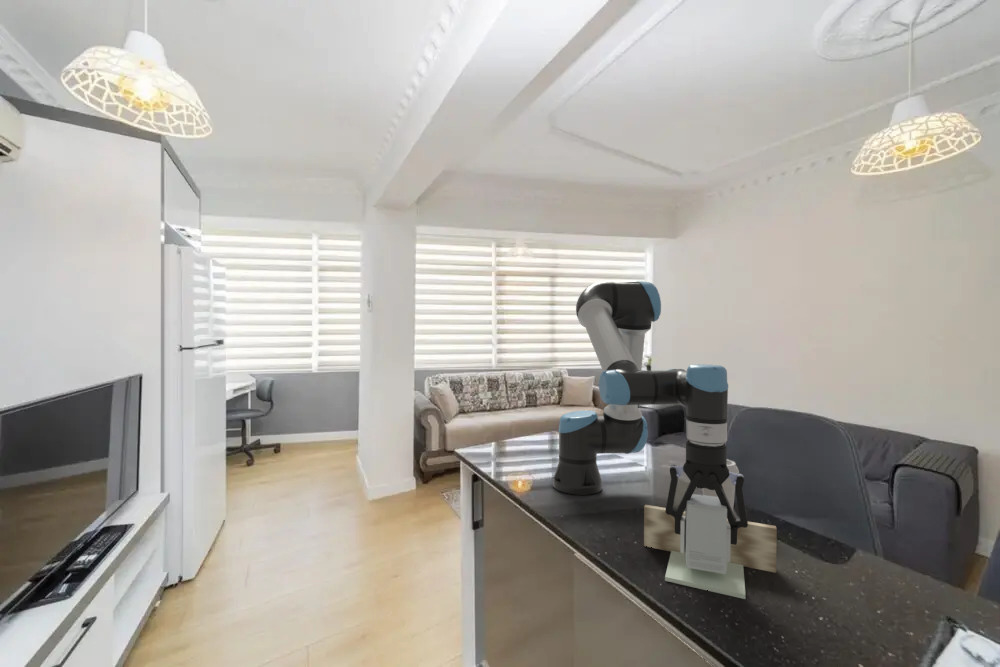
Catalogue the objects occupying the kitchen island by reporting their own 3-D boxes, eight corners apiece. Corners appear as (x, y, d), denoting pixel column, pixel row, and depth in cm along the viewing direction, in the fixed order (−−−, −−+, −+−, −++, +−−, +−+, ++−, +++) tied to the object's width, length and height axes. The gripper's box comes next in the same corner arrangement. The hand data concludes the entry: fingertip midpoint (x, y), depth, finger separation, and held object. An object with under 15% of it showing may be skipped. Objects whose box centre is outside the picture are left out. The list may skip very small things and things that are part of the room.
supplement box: (727, 575, 89) (728, 509, 88) (685, 568, 91) (686, 504, 91) (723, 557, 96) (723, 496, 95) (684, 551, 98) (685, 492, 98)
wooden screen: (644, 546, 106) (644, 506, 105) (645, 543, 107) (645, 504, 107) (776, 572, 94) (776, 528, 94) (775, 569, 96) (775, 526, 95)
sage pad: (664, 580, 91) (665, 576, 91) (671, 554, 102) (671, 550, 102) (745, 599, 85) (745, 594, 85) (743, 568, 96) (743, 565, 96)
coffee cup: (743, 527, 116) (744, 468, 115) (702, 524, 118) (703, 465, 117) (732, 512, 125) (732, 457, 125) (694, 509, 127) (695, 455, 127)
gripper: (650, 440, 94) (649, 551, 94) (766, 452, 85) (764, 575, 85) (655, 432, 101) (654, 536, 101) (763, 443, 92) (762, 557, 92)
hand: (705, 554), depth 93 cm, fingers closed on supplement box, 8 cm apart
